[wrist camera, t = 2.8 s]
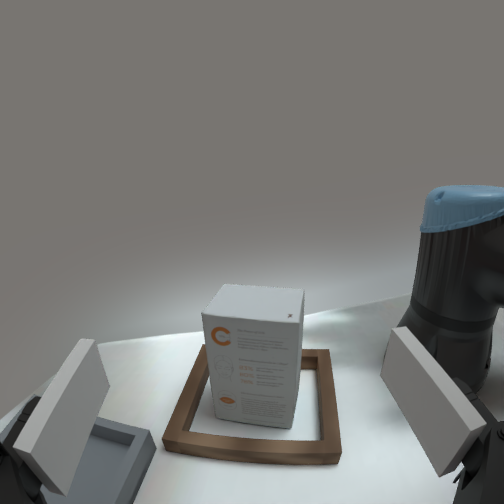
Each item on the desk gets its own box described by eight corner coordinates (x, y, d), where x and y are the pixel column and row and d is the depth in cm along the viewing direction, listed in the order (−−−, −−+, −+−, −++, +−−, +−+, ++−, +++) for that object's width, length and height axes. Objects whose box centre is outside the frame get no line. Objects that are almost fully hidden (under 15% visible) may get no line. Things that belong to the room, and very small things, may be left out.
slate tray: (156, 448, 25) (149, 430, 24) (103, 573, 10) (86, 564, 10) (44, 412, 26) (34, 394, 25) (-20, 497, 12) (-37, 480, 11)
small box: (299, 389, 33) (306, 287, 29) (292, 430, 27) (300, 322, 23) (230, 381, 35) (223, 281, 31) (213, 418, 29) (199, 312, 25)
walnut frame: (327, 361, 38) (329, 349, 37) (338, 463, 23) (341, 452, 22) (204, 356, 40) (202, 344, 39) (166, 450, 24) (161, 438, 24)
